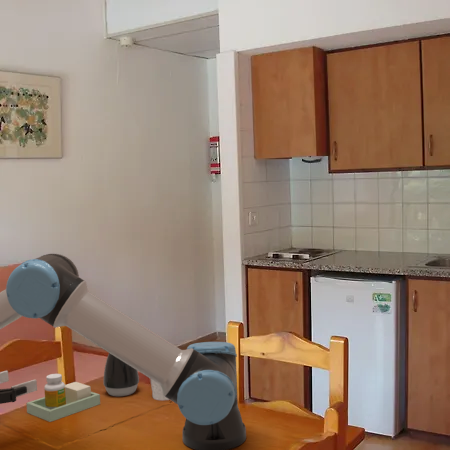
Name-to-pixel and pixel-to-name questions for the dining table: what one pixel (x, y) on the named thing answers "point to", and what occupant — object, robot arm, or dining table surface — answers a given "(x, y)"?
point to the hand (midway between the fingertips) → (21, 380)
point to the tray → (61, 407)
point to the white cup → (157, 391)
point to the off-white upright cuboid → (76, 392)
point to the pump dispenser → (119, 377)
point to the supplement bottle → (54, 391)
